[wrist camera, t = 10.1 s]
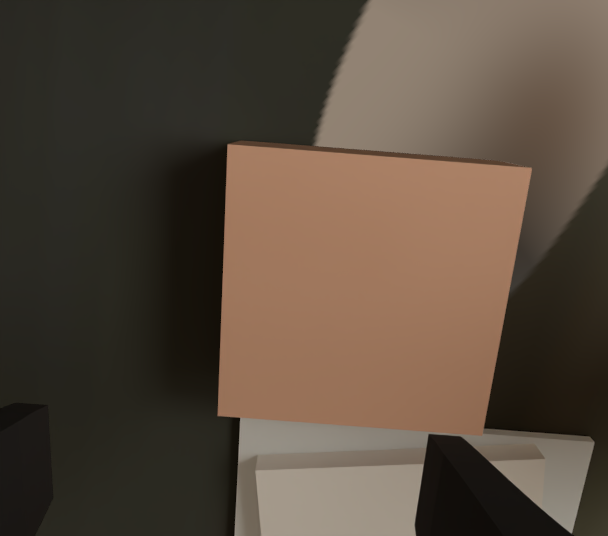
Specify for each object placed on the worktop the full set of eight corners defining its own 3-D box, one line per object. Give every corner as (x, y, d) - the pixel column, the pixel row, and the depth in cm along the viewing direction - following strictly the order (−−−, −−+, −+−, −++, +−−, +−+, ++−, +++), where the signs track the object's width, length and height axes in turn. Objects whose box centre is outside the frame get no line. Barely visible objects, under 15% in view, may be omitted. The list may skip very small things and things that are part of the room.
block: (498, 160, 19) (531, 167, 16) (459, 392, 21) (482, 435, 18) (240, 140, 19) (227, 144, 16) (230, 375, 21) (217, 415, 18)
